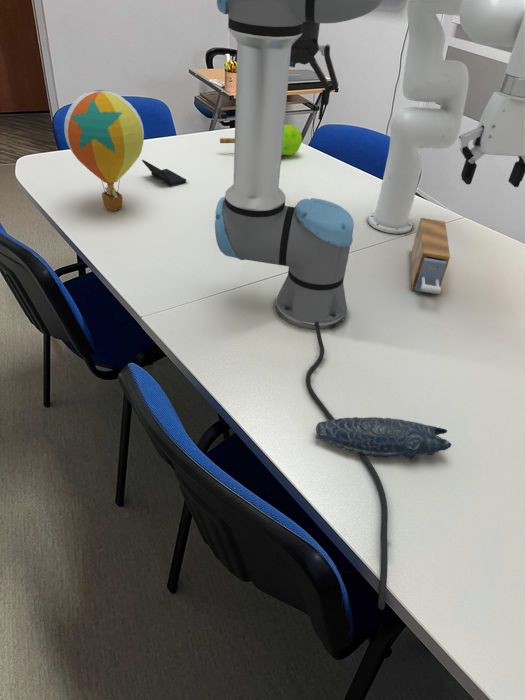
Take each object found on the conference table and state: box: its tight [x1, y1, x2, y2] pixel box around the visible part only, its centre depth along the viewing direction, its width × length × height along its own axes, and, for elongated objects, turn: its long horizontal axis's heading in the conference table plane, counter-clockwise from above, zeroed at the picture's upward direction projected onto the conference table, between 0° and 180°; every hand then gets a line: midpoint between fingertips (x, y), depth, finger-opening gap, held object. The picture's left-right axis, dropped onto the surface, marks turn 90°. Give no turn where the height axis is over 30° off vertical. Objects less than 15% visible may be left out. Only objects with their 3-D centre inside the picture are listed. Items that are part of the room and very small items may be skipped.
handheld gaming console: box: [141, 159, 187, 187], centre depth 162 cm, size 12×7×10 cm
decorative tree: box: [219, 124, 303, 156], centre depth 186 cm, size 18×10×30 cm
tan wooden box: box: [410, 217, 451, 291], centre depth 127 cm, size 20×6×10 cm, turn 168°
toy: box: [63, 89, 145, 212], centre depth 136 cm, size 20×20×30 cm
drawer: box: [414, 256, 446, 295], centre depth 123 cm, size 24×5×8 cm, turn 168°
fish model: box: [315, 416, 452, 459], centre depth 82 cm, size 7×21×5 cm, turn 84°
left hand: (294, 115), depth 134 cm, fingers open, 13 cm apart
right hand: (489, 183), depth 102 cm, fingers open, 9 cm apart
